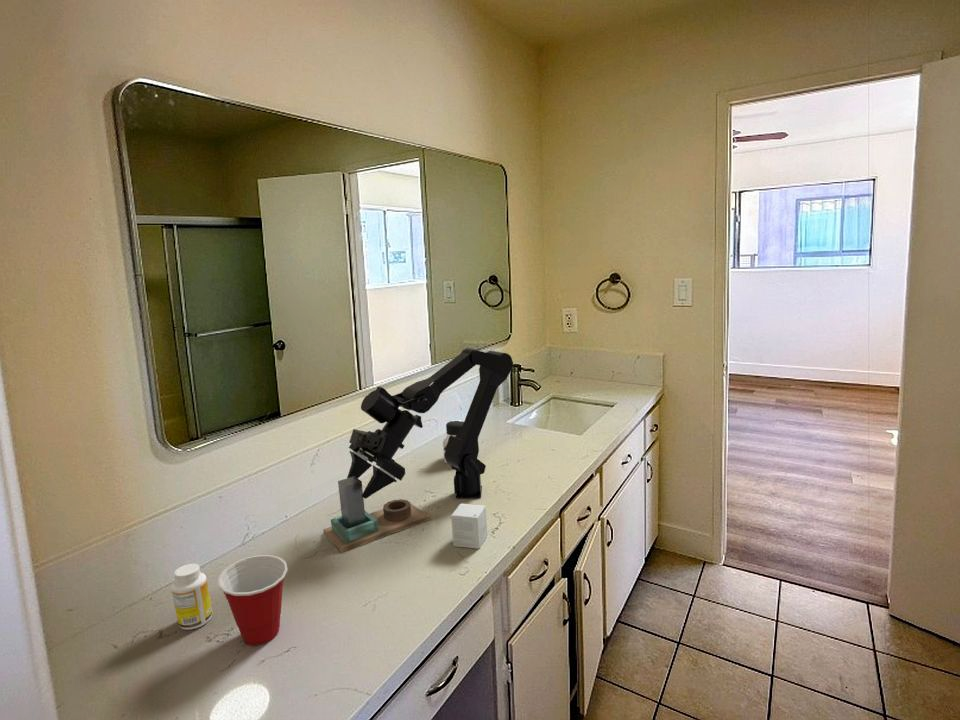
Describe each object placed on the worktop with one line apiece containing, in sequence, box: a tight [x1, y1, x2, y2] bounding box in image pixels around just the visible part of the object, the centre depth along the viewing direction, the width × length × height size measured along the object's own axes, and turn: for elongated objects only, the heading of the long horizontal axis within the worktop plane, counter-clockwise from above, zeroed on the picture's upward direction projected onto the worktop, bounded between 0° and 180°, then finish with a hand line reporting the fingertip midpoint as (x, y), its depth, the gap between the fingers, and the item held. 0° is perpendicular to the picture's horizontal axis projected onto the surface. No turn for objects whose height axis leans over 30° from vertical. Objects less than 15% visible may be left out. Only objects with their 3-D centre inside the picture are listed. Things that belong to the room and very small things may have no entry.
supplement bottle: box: [171, 563, 213, 631], centre depth 99 cm, size 6×6×10 cm
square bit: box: [337, 476, 366, 529], centre depth 127 cm, size 4×4×12 cm
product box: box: [450, 503, 488, 550], centre depth 121 cm, size 6×6×7 cm
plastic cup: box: [217, 554, 288, 647], centre depth 94 cm, size 11×11×12 cm
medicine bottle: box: [442, 419, 465, 464], centre depth 170 cm, size 7×7×12 cm
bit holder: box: [323, 498, 430, 553], centre depth 131 cm, size 22×11×4 cm, turn 126°
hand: (355, 491), depth 126 cm, fingers open, 9 cm apart
